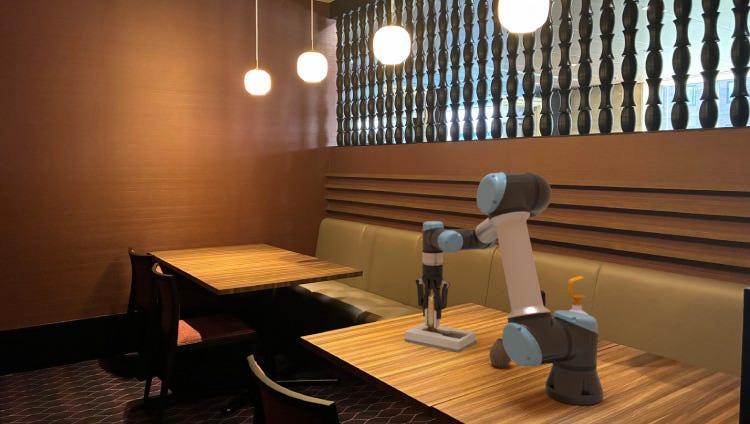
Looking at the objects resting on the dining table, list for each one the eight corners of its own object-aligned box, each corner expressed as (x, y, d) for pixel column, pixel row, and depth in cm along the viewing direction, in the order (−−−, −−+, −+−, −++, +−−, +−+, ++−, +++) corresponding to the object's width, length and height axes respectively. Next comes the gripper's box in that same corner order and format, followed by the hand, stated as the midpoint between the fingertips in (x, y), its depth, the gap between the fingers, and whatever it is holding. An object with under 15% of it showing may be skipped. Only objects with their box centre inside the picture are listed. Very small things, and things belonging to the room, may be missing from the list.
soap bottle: (593, 347, 200) (595, 279, 198) (567, 347, 200) (569, 279, 198) (584, 340, 209) (586, 274, 207) (559, 339, 209) (561, 274, 207)
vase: (511, 370, 177) (512, 343, 176) (489, 368, 178) (489, 341, 178) (511, 363, 184) (511, 336, 183) (489, 361, 185) (489, 335, 184)
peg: (435, 340, 204) (435, 297, 203) (420, 337, 208) (421, 295, 206) (443, 336, 209) (443, 294, 208) (429, 333, 212) (429, 292, 211)
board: (458, 352, 194) (458, 341, 194) (404, 341, 207) (404, 331, 207) (476, 342, 205) (476, 332, 205) (424, 332, 218) (424, 322, 218)
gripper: (457, 264, 204) (456, 327, 206) (418, 260, 214) (418, 320, 216) (447, 267, 198) (446, 332, 200) (408, 262, 208) (408, 325, 210)
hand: (432, 326), depth 208 cm, fingers closed on peg, 3 cm apart
